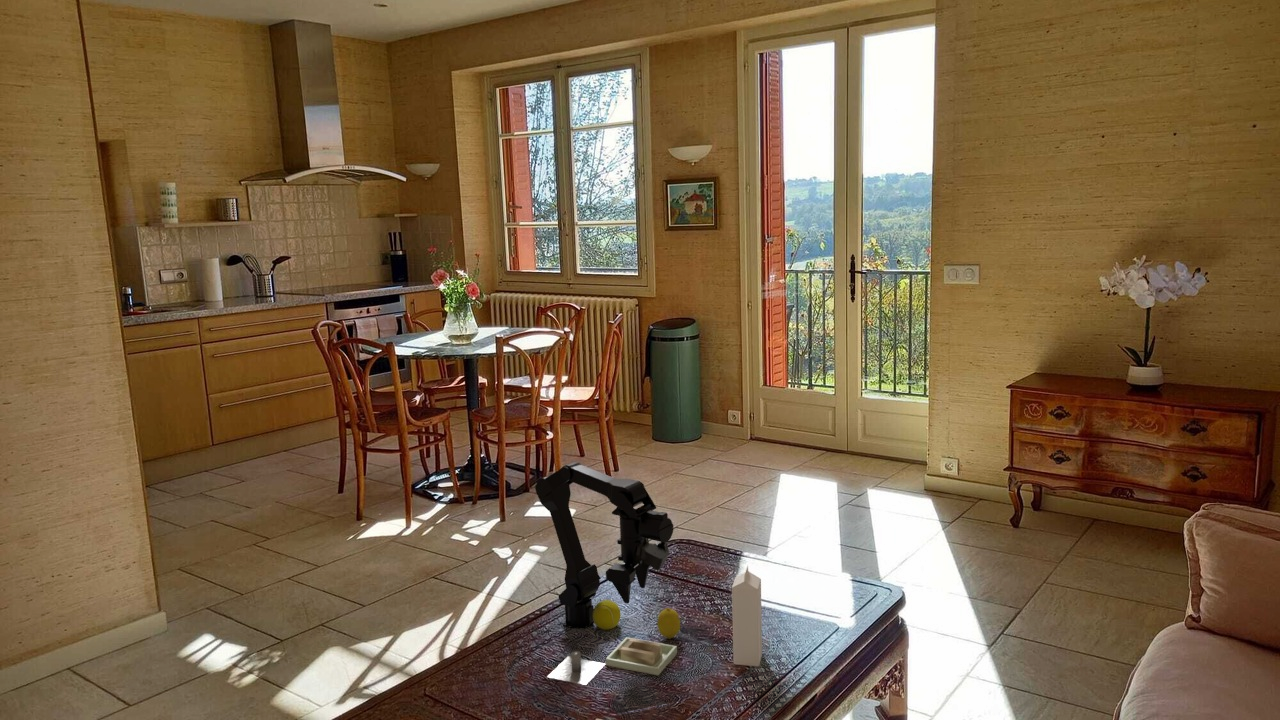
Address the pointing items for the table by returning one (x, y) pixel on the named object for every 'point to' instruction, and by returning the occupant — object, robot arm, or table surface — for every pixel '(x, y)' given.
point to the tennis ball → (606, 614)
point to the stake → (576, 669)
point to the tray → (666, 658)
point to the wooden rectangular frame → (641, 652)
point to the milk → (747, 619)
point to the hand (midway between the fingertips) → (634, 595)
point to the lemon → (668, 623)
